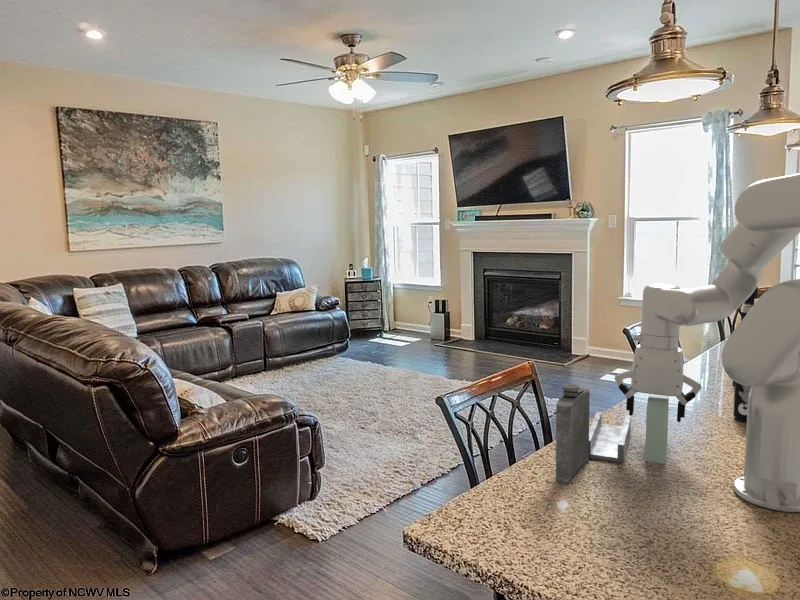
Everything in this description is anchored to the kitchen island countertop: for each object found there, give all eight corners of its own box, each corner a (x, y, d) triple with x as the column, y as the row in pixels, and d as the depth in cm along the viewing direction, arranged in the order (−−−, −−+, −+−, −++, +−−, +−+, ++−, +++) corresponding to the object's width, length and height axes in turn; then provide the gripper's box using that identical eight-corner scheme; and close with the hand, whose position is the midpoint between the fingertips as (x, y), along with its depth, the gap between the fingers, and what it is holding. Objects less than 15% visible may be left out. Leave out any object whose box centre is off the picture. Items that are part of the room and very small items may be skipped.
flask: (549, 481, 114) (550, 393, 111) (573, 456, 125) (574, 376, 123) (567, 485, 112) (568, 396, 109) (590, 459, 123) (591, 378, 121)
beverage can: (768, 424, 140) (771, 376, 139) (738, 423, 142) (741, 376, 140) (757, 415, 147) (760, 369, 145) (729, 414, 148) (731, 369, 147)
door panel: (665, 464, 120) (667, 408, 119) (645, 461, 122) (646, 406, 120) (667, 440, 133) (669, 390, 131) (648, 438, 134) (649, 388, 133)
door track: (623, 463, 121) (623, 445, 120) (584, 457, 124) (584, 440, 124) (630, 431, 139) (631, 415, 138) (596, 427, 142) (596, 411, 142)
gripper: (614, 341, 125) (611, 416, 127) (705, 349, 117) (699, 428, 120) (618, 334, 131) (614, 406, 134) (703, 341, 124) (698, 416, 127)
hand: (654, 416), depth 127 cm, fingers open, 9 cm apart
